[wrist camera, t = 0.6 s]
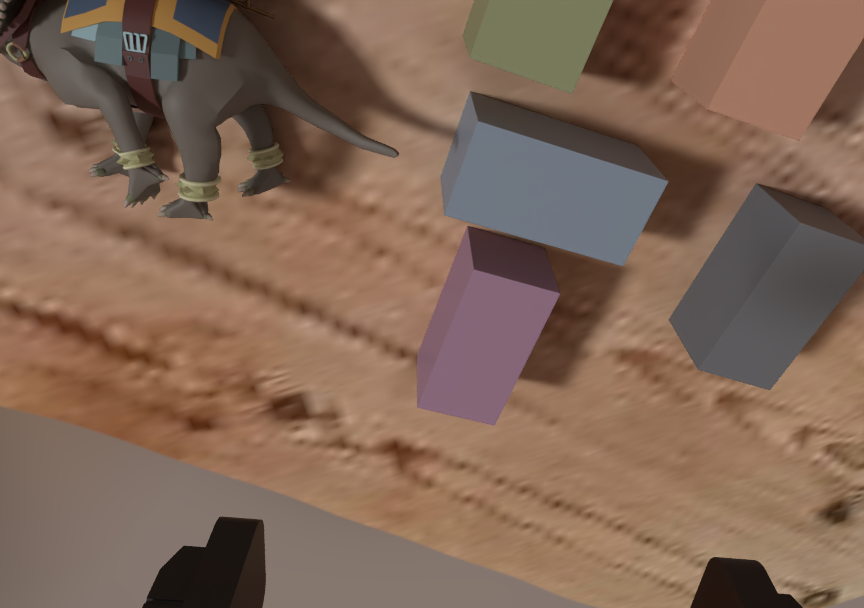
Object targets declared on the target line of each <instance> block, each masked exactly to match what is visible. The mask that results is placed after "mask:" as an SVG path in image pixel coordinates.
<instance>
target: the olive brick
mask: <svg viewBox="0 0 864 608" xmlns="http://www.w3.org/2000/svg"><path fill="white" fill-rule="evenodd" d="M612 2H613V0H474V3H473V6H472V9H471V12H470V15H469V18H468V21H467V24H466V27H465V30H464V33H463V38H464V41H465V45H466V48H467V51H468V54H469V58H471V59H474V60H477V61H480V62H483V63H485V64H488V65H491V66H494V67H497V68H500V69H503V70H505V71H508V72H511V73H514V74H517V75H520V76H522V77H525V78H528V79H531V80H534V81H537V82H540V83H542V84H545V85H548V86H551V87H554V88H557V89H559V90H562V91H565V92H568V93H571V94H572V93H573V91H574V88H575V86H576V84H577V82H578V79H579V77H580V75H581V72H582V70H583V68H584V66H585V63H586V61H587V59H588V57H589V54H590V52H591V50H592V47H593V45H594V43H595V41H596V38H597V36H598V34H599V32H600V29H601V27H602V25H603V22H604V20H605V18H606V16H607V13H608V11H609V9H610V7H611V4H612Z"/></svg>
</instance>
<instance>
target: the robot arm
mask: <svg viewBox="0 0 864 608" xmlns="http://www.w3.org/2000/svg"><path fill="white" fill-rule="evenodd" d="M265 583H266V573H265V543H264V524H263V521H262V520H257V519H245V518H232V517H219V518H218V520H217V522H216V524H215V526H214V528H213V531H212V533H211V535H210V538H209V540H208V543H207V545H206V547H193V546H183V547H182V548H181V549H180V550H179V551H178V552H177V553H176V554H175V555H174V556H173V557H172V558H171V559H170V560H169V561H168V562H167V563H166V564H165V565H164V566H163V567H162V568H161V569H160V571H159V573H158V575H157V577H156V579H155V581H154V583H153V586H152V588H151V590H150V592H149V594H148V596H147V601H146V603H144V605H143V607H142V608H262V607H263V601H264V594H265V585H266V584H265ZM690 608H803V607H802V606H801V605H800V604H799V603H798V602H797V601H796V600H795V599H794V598H793V597H792V596H791V595H790V594H778V593H777V591H776V589H775V587H774V585H773V583H772V581H771V579H770V578H769V576H768V574H767V572H766V570H765V568H764V567H763V566H762V564H761V563H759V562H758V561H756V560H746V559H733V558H720V557H713V558H711V559H710V561H709V562H708V564H707V567H706V569H705V572H704V574H703V577H702V579H701V582H700V584H699V587H698V589H697V592H696V595H695V597H694V600H693V602H692V605H691V607H690Z"/></svg>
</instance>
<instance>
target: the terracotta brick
mask: <svg viewBox="0 0 864 608" xmlns="http://www.w3.org/2000/svg"><path fill="white" fill-rule="evenodd" d="M863 38H864V0H711V1H710V3H709V5H708V7H707V9H706V11H705V13H704V15H703V17H702V19H701V21H700V23H699V25H698V27H697V29H696V31H695V33H694V35H693V37H692V39H691V41H690V43H689V45H688V47H687V49H686V51H685V53H684V55H683V57H682V59H681V61H680V63H679V65H678V67H677V69H676V71H675V73H674V75H673V77H672V79H671V81H672V82H673V83H674V84H676V85H677V86H678V87H680V88H681V89H682V90H683V91H685V92H686V93H687V94H688V95H690V96H691V97H692V98H694V99H695V100H696V101H697V102H699V103H700V104H701V105H703V106H704V107H705V108H706V109H708V110H711V111H714V112H717V113H720V114H723V115H726V116H728V117H731V118H734V119H737V120H740V121H743V122H746V123H749V124H752V125H754V126H757V127H760V128H763V129H766V130H769V131H772V132H775V133H777V134H780V135H783V136H786V137H789V138H792V139H795V140H798V141H799V140H800V138H801V137H802V135H803V134H804V132H805V130H806V129H807V127H808V126H809V124H810V122H811V121H812V119H813V118H814V116H815V115H816V113H817V111H818V110H819V108H820V107H821V105H822V103H823V102H824V100H825V99H826V97H827V95H828V94H829V92H830V91H831V89H832V87H833V86H834V84H835V83H836V81H837V80H838V78H839V76H840V75H841V73H842V72H843V70H844V68H845V67H846V65H847V64H848V62H849V60H850V59H851V57H852V56H853V54H854V52H855V51H856V49H857V48H858V46H859V44H860V43H861V41H862V40H863Z"/></svg>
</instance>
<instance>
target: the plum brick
mask: <svg viewBox="0 0 864 608" xmlns="http://www.w3.org/2000/svg"><path fill="white" fill-rule="evenodd" d="M559 295H560V291H559V288H558V286H557V283H556V280H555V277H554V274H553V271H552V268H551V266H550V263H549V260H548V257H547V254H546V251H545V249H544V248H541V247H538V246H534V245H531V244H528V243H524V242H521V241H517V240H514V239H510V238H507V237H504V236H500V235H497V234H493V233H490V232H486V231H483V230H479V229H476V228H473V227H469V226H467V228H466V231H465V233H464V236H463V239H462V241H461V244H460V246H459V249H458V251H457V254H456V256H455V259H454V262H453V264H452V267H451V269H450V272H449V274H448V277H447V280H446V282H445V285H444V287H443V290H442V292H441V295H440V298H439V300H438V303H437V305H436V308H435V310H434V313H433V316H432V318H431V321H430V323H429V326H428V328H427V331H426V334H425V336H424V339H423V341H422V344H421V346H420V349H419V352H418V354H417V407H418V408H422V409H426V410H430V411H435V412H439V413H443V414H447V415H452V416H456V417H460V418H464V419H469V420H473V421H477V422H481V423H486V424H490V425H494V426H495V424H496V422H497V420H498V418H499V416H500V414H501V412H502V410H503V408H504V406H505V404H506V402H507V400H508V398H509V396H510V394H511V392H512V390H513V388H514V386H515V384H516V382H517V379H518V377H519V375H520V373H521V371H522V369H523V367H524V365H525V363H526V361H527V359H528V357H529V355H530V353H531V351H532V349H533V347H534V345H535V343H536V341H537V339H538V337H539V335H540V333H541V331H542V329H543V327H544V325H545V323H546V321H547V319H548V317H549V315H550V313H551V311H552V309H553V307H554V305H555V303H556V301H557V299H558V297H559Z"/></svg>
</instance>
